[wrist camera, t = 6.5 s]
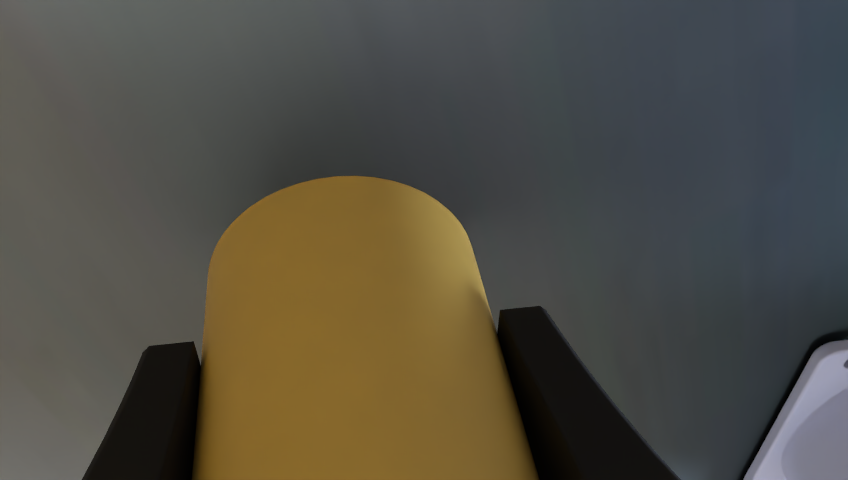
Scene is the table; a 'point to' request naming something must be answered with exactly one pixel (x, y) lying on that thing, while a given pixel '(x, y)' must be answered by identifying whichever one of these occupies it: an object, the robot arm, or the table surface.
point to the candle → (352, 344)
